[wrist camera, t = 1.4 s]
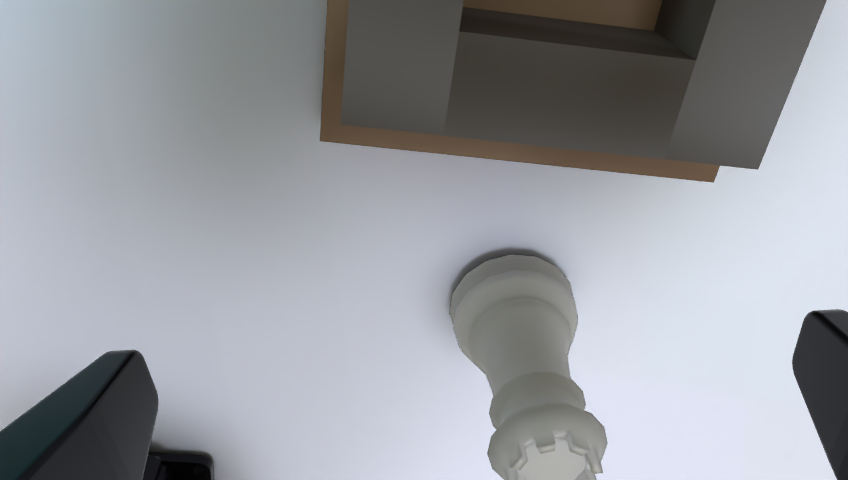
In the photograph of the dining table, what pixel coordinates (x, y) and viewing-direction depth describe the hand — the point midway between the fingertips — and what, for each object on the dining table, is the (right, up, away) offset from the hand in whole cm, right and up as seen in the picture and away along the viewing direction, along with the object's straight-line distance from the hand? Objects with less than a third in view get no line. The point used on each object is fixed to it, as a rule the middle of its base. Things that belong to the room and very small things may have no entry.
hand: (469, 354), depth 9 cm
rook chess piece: (+3, 0, +15) cm, 16 cm away
